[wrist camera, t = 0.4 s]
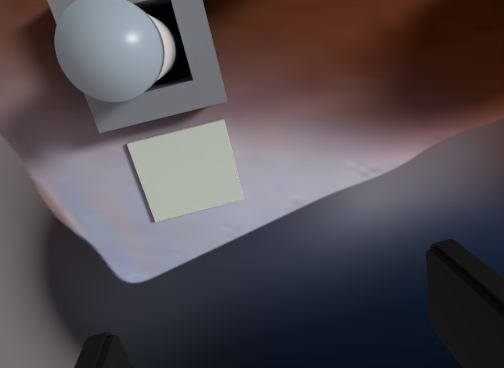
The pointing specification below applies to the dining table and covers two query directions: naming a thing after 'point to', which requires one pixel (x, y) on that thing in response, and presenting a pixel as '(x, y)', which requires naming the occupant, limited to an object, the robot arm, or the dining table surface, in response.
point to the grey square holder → (172, 93)
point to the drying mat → (187, 170)
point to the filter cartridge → (113, 48)
